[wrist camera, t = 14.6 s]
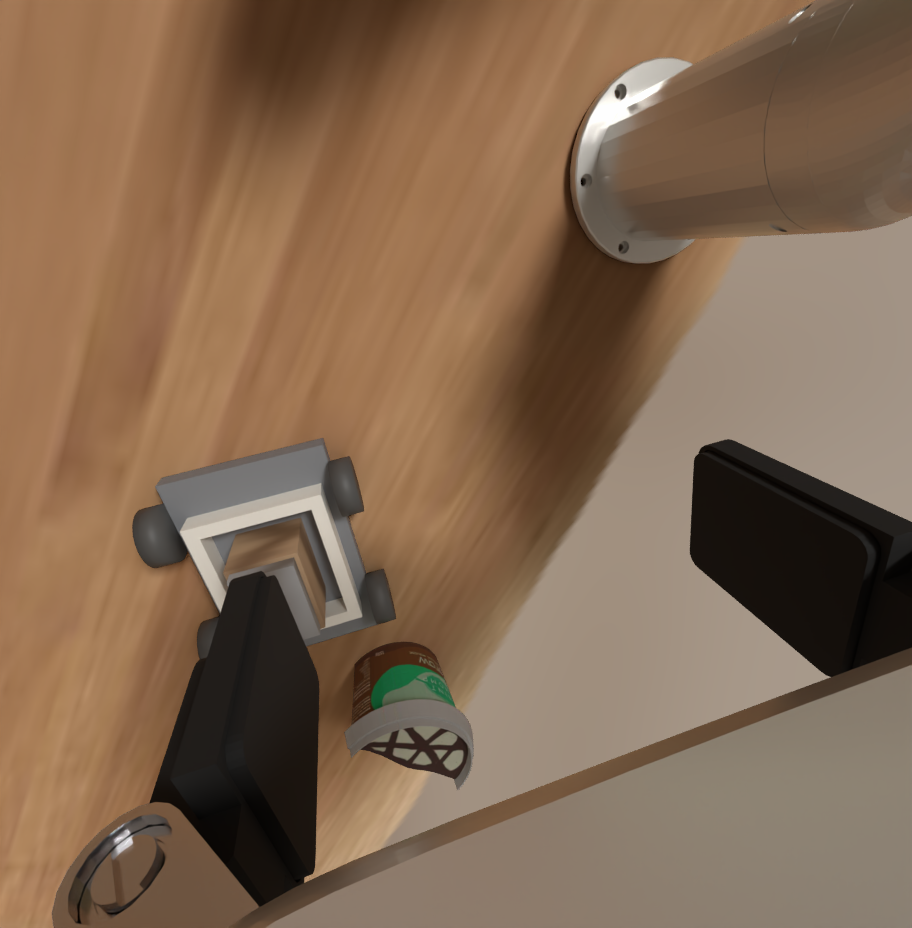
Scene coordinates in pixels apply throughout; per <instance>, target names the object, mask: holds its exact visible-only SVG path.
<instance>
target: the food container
mask: <svg viewBox="0 0 912 928" xmlns="http://www.w3.org/2000/svg"><path fill="white" fill-rule="evenodd" d="M344 733H345V737H346V742H347V747H348V749H350V752H351V757H353V756H354V755H355V754H356V753H357V752H358V751H359V750H360V749H361V750H366V751H371V752H373V753H376V754H379V755H382V756H384V757H386V758H388V759H390V760H392V761H394V762H396V763H398V764H400V765H403V766H405V767H407V768H412V769H417V770H426V771H431V772H435V773H438V774H441V775H445V776H447V777H450V778H453V779H454V781H455V784H456V787H457V790H459V789H460V787H461V786H462V785H463V784H464V782H465V781H466V779H467V778H468V775H469V773H470V771H471V767H472V759H473V736H472V729H471V725H470V723H469V721H468V719H467V718H466V717H465V715H464V714H463V713H462V712H460V711H459V710H458V709H457V708H456V707H455V704H454V702H453V699H452V697H451V694H450V691H449V689H448V686H447V684H446V681H445V678H444V676H443V673H442V671H441V668H440V666H439V663H438V661H437V659H436V656H435V655H434V654H433V653H432V652H431V651H430V650H429V649H428V648H426V647H424V646H422V645H420V644H417V643H411V642H395V643H390V644H386V645H383V646H380V647H378V648H376V649H374V650H372V651H370V652H369V653H367V654H366V655H364V656H363V657H362V658H361V659H360V660H359V661H358V662H357V663H356V664H355V672H354V691H353V710H352V725H351V726H350V727H349V728H348V729H347V730H346V731H345V732H344Z"/></svg>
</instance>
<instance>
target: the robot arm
mask: <svg viewBox="0 0 912 928" xmlns="http://www.w3.org/2000/svg"><path fill="white" fill-rule="evenodd" d="M615 93H616V97H615ZM581 179H582V180H583V185H582V186H581ZM570 190H571V195H572V201H573V206H574V210H575V212H576V215H577V218H578V221H579V223H580V225H581V227H582V229H583V230H584V232H585V234H586V235H587V237H588V238H589V239H590V240H591V242H592V243H593V244H594V245H595V246H596V247H597V248H598V249H599V250H601V251H602V252H604V253H605V254H606V255H608V256H609V257H612V258H614V259H617V260H619V261H622V262H628V263H653V262H657V261H662V260H665V259H667V258H669V257H671V256H674V255H676V254H678V253H679V252H680V251H682V250H683V249H685V248H686V247H688V246H689V245H690V244H691V243H692V242H693V241H694V240H695V239H705V238H727V237H749V236H770V235H792V234H815V233H836V232H853V231H862V230H868V229H873V228H877V227H882V226H886V225H889V224H892V223H895V222H898V221H900V220H903V219H905V218H908V217H910V216H912V0H816V1H814V2H812V3H810V4H808V5H806V6H804V7H802V8H800V9H798V10H797V11H795V12H793V13H791V14H789V15H787V16H785V17H783V18H781V19H779V20H777V21H776V22H774V23H772V24H770V25H768V26H766V27H764V28H762V29H760V30H758V31H756V32H755V33H753V34H751V35H749V36H747V37H745V38H743V39H741V40H739V41H737V42H735V43H734V44H732V45H730V46H728V47H726V48H724V49H722V50H720V51H718V52H716V53H714V54H713V55H711V56H709V57H707V58H705V59H703V60H701V61H699V62H697V63H695V64H692V63H690V62H689V61H685V60H681V59H677V58H674V57H671V58H655V59H651V60H647V61H644V62H641V63H639V64H637V65H635V66H633V67H632V68H630V69H628V70H626V71H625V72H623V73H622V74H620V75H619V76H618V77H616V78H615V79H613V80H612V81H611V82H610V83H609V84H608V85H607V86H606V87H605V88H604V89H603V90H602V91H601V92H600V93H599V94H598V96H597V97H596V99H595V100H594V102H593V103H592V105H591V106H590V108H589V109H588V111H587V112H586V114H585V117H584V119H583V121H582V123H581V125H580V128H579V130H578V133H577V136H576V140H575V143H574V147H573V151H572V159H571V166H570ZM619 245H620V249H618V248H619ZM690 555H691V558H692V560H693V562H694V564H695V565H696V566H697V567H698V568H699V569H700V570H702V571H703V572H704V573H705V574H707V576H709V577H710V578H711V579H712V580H713V581H715V582H716V583H717V584H718V585H719V586H721V587H722V588H723V589H724V590H725V591H726V592H728V593H729V594H730V595H731V596H732V597H734V598H735V599H736V600H737V601H738V602H739V603H741V604H742V605H743V606H744V607H745V608H747V609H748V610H749V611H750V612H752V613H753V614H754V615H755V616H756V617H757V618H758V619H760V620H761V621H762V622H763V623H764V624H765V625H767V626H768V627H769V628H770V629H771V630H773V631H774V632H775V633H776V634H777V635H778V636H780V637H781V638H782V639H783V640H785V641H786V642H787V643H788V644H789V645H790V646H792V647H793V648H794V649H795V650H796V651H797V652H799V653H800V654H801V655H802V656H803V657H805V658H806V659H807V660H808V661H809V662H810V663H812V664H813V665H814V666H815V667H816V668H818V669H819V670H820V671H821V672H823V673H824V674H825V675H827V676H830V677H831V678H828V679H825V680H823V681H820V682H817V683H814V684H812V685H809V686H806V687H804V688H801V689H798V690H796V691H793V692H790V693H788V694H785V695H782V696H779V697H776V698H774V699H771V700H768V701H766V702H763V703H760V704H758V705H756V706H752V707H750V708H747V709H744V710H742V711H739V712H736V713H734V714H731V715H729V716H726V717H723V718H721V719H718V720H715V721H712V722H710V723H707V724H704V725H702V726H699V727H696V728H694V729H692V730H689V731H686V732H683V733H681V734H678V735H675V736H673V737H670V738H667V739H665V740H662V741H660V742H657V743H654V744H651V745H649V746H646V747H643V748H641V749H638V750H635V751H633V752H630V753H628V754H625V755H622V756H620V757H617V758H615V759H612V760H609V761H606V762H604V763H601V764H599V765H596V766H593V767H591V768H588V769H586V770H583V771H581V772H578V773H576V774H572V775H570V776H567V777H565V778H562V779H559V780H557V781H554V782H552V783H549V784H546V785H544V786H541V787H538V788H536V789H533V790H531V791H528V792H525V793H523V794H520V795H518V796H515V797H512V798H510V799H507V800H505V801H502V802H499V803H497V804H494V805H491V806H489V807H486V808H484V809H481V810H478V811H476V812H473V813H471V814H468V815H466V816H463V817H460V818H458V819H455V820H453V821H450V822H448V823H445V824H443V825H440V826H438V827H436V828H433V829H430V830H428V831H425V832H423V833H420V834H418V835H415V836H413V837H410V838H408V839H406V840H403V841H401V842H398V843H396V844H393V845H391V846H388V847H386V848H383V849H381V850H378V851H376V852H373V853H371V854H368V855H366V856H363V857H361V858H358V859H356V860H353V861H351V862H349V863H347V864H345V865H343V866H340V867H338V868H336V869H334V870H332V871H329V872H327V873H325V874H323V875H321V876H319V877H316V878H314V879H312V880H310V881H308V882H306V883H304V877H306V876H309V875H311V874H313V872H314V868H315V856H316V811H317V766H318V721H319V681H318V676H317V672H316V669H315V667H314V664H313V662H312V659H311V657H310V655H309V652H308V650H307V648H306V645H305V643H304V641H303V638H302V636H301V633H300V631H299V629H298V626H297V624H296V622H295V619H294V617H293V615H292V612H291V610H290V607H289V605H288V603H287V600H286V598H285V596H284V593H283V591H282V589H281V586H280V584H279V581H278V579H277V578H276V576H275V575H271V576H268V577H267V576H266V575H265V573H264V572H262V571H259V572H255V573H252V574H248V575H245V576H241V577H238V578H234V579H232V580H231V581H230V583H229V586H228V590H227V593H226V596H225V600H224V603H223V606H222V609H221V613H220V616H219V619H218V623H217V626H216V629H215V633H214V636H213V639H212V642H211V646H210V649H209V652H208V656H207V657H206V658H203V659H200V660H199V661H198V662H197V663H196V665H195V667H194V669H193V672H192V675H191V678H190V681H189V684H188V687H187V690H186V693H185V696H184V699H183V702H182V705H181V708H180V711H179V714H178V718H177V721H176V724H175V727H174V730H173V733H172V736H171V739H170V742H169V745H168V748H167V751H166V754H165V757H164V760H163V763H162V766H161V769H160V772H159V775H158V779H157V782H156V785H155V788H154V791H153V794H152V797H151V800H150V803H149V804H146V805H142V806H138V807H137V808H135V809H133V810H131V811H129V812H127V813H125V814H123V815H121V816H119V817H118V818H117V819H116V820H114V821H113V822H112V823H110V824H109V825H108V826H106V827H105V828H104V829H103V830H101V831H100V832H99V833H98V834H97V835H96V836H95V837H94V838H93V839H92V840H91V841H90V842H89V843H88V845H87V846H86V847H85V848H84V849H83V850H82V851H81V853H80V854H79V855H78V857H77V858H76V859H75V861H74V862H73V864H72V865H71V866H70V868H69V869H68V871H67V873H66V875H65V877H64V879H63V881H62V883H61V885H60V887H59V889H58V891H57V893H56V898H55V902H54V906H53V910H52V919H53V926H54V928H912V522H910V521H908V520H906V519H904V518H902V517H899V516H897V515H895V514H893V513H891V512H889V511H886V510H884V509H882V508H880V507H878V506H875V505H873V504H871V503H869V502H867V501H864V500H862V499H860V498H858V497H856V496H854V495H851V494H849V493H847V492H845V491H843V490H840V489H838V488H836V487H834V486H832V485H830V484H827V483H825V482H823V481H821V480H819V479H816V478H814V477H812V476H810V475H808V474H806V473H803V472H801V471H799V470H797V469H795V468H792V467H790V466H788V465H786V464H784V463H781V462H779V461H777V460H775V459H773V458H770V457H768V456H766V455H764V454H762V453H760V452H757V451H755V450H753V449H751V448H749V447H746V446H744V445H742V444H740V443H738V442H736V441H733V440H729V439H728V440H723V441H719V442H716V443H712V444H709V445H705V446H704V447H702V448H701V449H700V451H699V454H698V455H697V456H696V457H695V460H694V472H693V494H692V515H691V536H690Z"/></svg>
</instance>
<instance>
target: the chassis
mask: <svg viewBox="0 0 912 928" xmlns="http://www.w3.org/2000/svg"><path fill="white" fill-rule="evenodd" d="M155 487H156V489H157V491H158V493H159V495H160V497H161V499H162V501H163V503H164V504H160V505H156V506H152V507H148V508H144V509H141V510H139V511H138V512H137V513H136V514H135V516H134V519H133V527H132V528H133V538H134V542H135V546H136V548H137V551H138V553H139V555H140V556H141V558H142V559H143V561H144V562H145V563H146V564H147V565H148V566H150V567H152V568H158V567H162V566H166V565H169V564H173V563H177V562H180V561H182V560H184V558H185V557H186V554H187V550H188V552H189V554H190V556H191V558H192V560H193V562H194V564H195V566H196V568H197V570H198V572H199V574H200V576H201V578H202V580H203V582H204V584H205V585H206V587H207V589H208V591H209V593H210V595H211V597H212V599H213V601H214V603H215V605H216V607H217V609H218V611H219V613H221V609H222V606H223V603H224V600H225V596H226V593H227V590H228V586H227V580H226V578H225V576H224V574H223V571H224V568H225V565H226V562H227V559H228V556H229V553H230V550H231V547H232V544H233V541H234V538H235V535H236V534H240V533H243V532H247V531H251V530H255V529H259V528H263V527H266V526H270V525H274V524H278V523H282V522H286V521H289V520H293V519H297V518H301V519H302V522H303V525H304V528H305V530H306V533H307V536H308V539H309V542H310V544H311V547H312V550H313V553H314V555H315V558H316V561H317V564H318V567H319V569H320V572H321V575H322V578H323V581H324V583H325V586H326V610H325V628H321V629H320V635H318V636H315V637H311V638H308V639H305V640H303V641H304V643H305V645H306V646H309V645H312V644H316V643H319V642H322V641H325V640H329V639H332V638H335V637H338V636H342V635H345V634H348V633H351V632H355V631H358V630H361V629H364V628H368V627H371V626H374V625H378V624H381V623H384V622H388V621H391V620H394V619H396V614H395V609H394V604H393V600H392V596H391V592H390V588H389V584H388V581H387V577H386V574H385V571H384V569H381V570H377V571H374V572H370V573H367V574H366V571H365V568H364V565H363V561H362V558H361V555H360V552H359V549H358V546H357V543H356V540H355V536H354V533H353V530H352V527H351V524H350V521H349V518H348V516H349V515H352V514H356V513H360V512H363V511H364V506H363V501H362V496H361V492H360V488H359V484H358V480H357V477H356V473H355V470H354V467H353V464H352V461H351V458H350V457H349V456H348V457H344V458H340V459H336V460H332V461H330V458H329V455H328V452H327V449H326V446H325V443H324V439H323V438H321V439H317V440H313V441H309V442H305V443H301V444H297V445H293V446H289V447H285V448H281V449H277V450H273V451H269V452H265V453H260V454H256V455H252V456H248V457H244V458H240V459H236V460H232V461H228V462H224V463H220V464H216V465H212V466H208V467H204V468H200V469H196V470H192V471H188V472H184V473H180V474H176V475H172V476H168V477H164V478H161V480H160V481H159V482H158V484H157V485H156V486H155ZM218 619H219V617H216V618H213V619H209V620H206V621H203V622H202V623H201V625H200V627H199V629H198V634H197V648H198V654H199V658H200V659H203V658H206V657H207V656H208V652H209V649H210V646H211V642H212V639H213V636H214V633H215V629H216V626H217V623H218Z"/></svg>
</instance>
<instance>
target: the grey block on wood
mask: <svg viewBox="0 0 912 928" xmlns="http://www.w3.org/2000/svg"><path fill="white" fill-rule="evenodd" d="M259 571H262V572H264V573H265V575H266V576H267V577H268V576H271V575H275V576H276V578H277V579H278V581H279V584H280V586H281V589H282V591H283V593H284V596H285V598H286V600H287V603H288V605H289V607H290V610H291V612H292V615H293V617H294V619H295V622H296V624H297V626H298V629H299V631H300V633H301V636H302V638H303V640H305V639H308V638H311V637H315V636H318V635H320V629H321V628H325V610H326V586H325V583H324V581H323V578H322V575H321V572H320V569H319V567H318V564H317V561H316V558H315V555H314V553H313V550H312V547H311V544H310V542H309V539H308V536H307V533H306V530H305V528H304V525H303V522H302V519H301V518H297V519H293V520H289V521H286V522H282V523H278V524H274V525H270V526H266V527H263V528H259V529H255V530H251V531H247V532H243V533H240V534H236V535H235V538H234V541H233V544H232V547H231V550H230V553H229V556H228V559H227V562H226V565H225V568H224V571H223V574H224V576H225V578H226V580H227V586H229V583H230V581H231V580H232V579H234V578H238V577H241V576H245V575H248V574H252V573H255V572H259Z"/></svg>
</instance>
